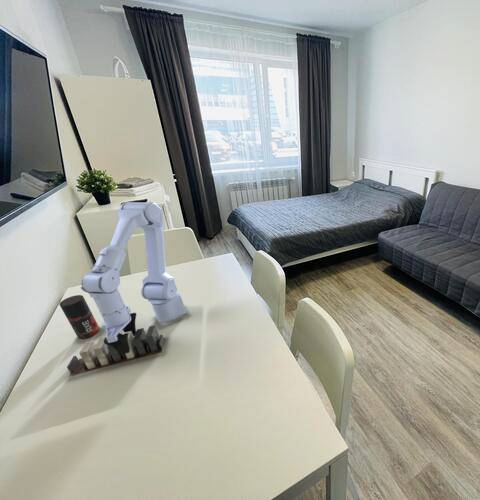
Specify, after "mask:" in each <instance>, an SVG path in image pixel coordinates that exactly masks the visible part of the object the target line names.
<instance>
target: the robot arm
mask: <svg viewBox="0 0 480 500" xmlns="http://www.w3.org/2000/svg"><path fill="white" fill-rule="evenodd" d="M117 216H118V219H119V220H118V223H117V225H116V228H115V230H114V233H113V236H112V239H111V242H110V243H109V245H108V246H104V247H103V248H102V249H101V250H100V251H99V255H98V257H97V259H96V260H95V261H96V262H95V263H94V265H93V267H92V269H91V271H90V272H88V273H87V274H85V275H84V276H83V278H82V279H81V286H80V289H81V290H82V292H84V293H87V294H88V295H89V297H90V298H92V299H93V301H94V303H95V305H96V307H97V310H98V312H99V313H100V315H101V317H102V320H103V321H104V322H102V324H101V328H102V329H105V331H106V336H104V337H105V339H104V343H105V344H106V345H109V346H111V347H113V348H114V349H116V350H117V351H118V352H119V353H120V354H126V353H129V352H130V348H129V344H128V334H129V333H126V334H124V333H125V332H129V331H132V334H133V336H135V333H136V331H137V327H136V319H137V313H136V312H131V311H132V310H131V308H130V306H126V304H125V302H124V300H123V298H122V295H121V292H120V290H119V286H120V284H121V277H120V276H121V271H120V270H121V269H122V266H123V264H124V262H125V259H126V257H127V252H126V251H125V248H126V246H127V244H128V243H129V241H130V240H131V237H132V236H133V234H134V233H135V231H136V230H137V228H140V229H142V230H143V231H144V242H145V254H146V263H147V275H146V276H145V277H144V278H143V279H142V286H141V290H140V293H141V297H142V298H143V299H144V300H148V302H149V303H150V304H151V307H152V310H153V312H154V314H155V317H156V320H157V322H158V323H160V324H161V323H163V324H165V323H169V322H172V321H174V320H176V319H177V318H180V317H181V316H184V315H186V314H187V311H186V306H185V304H184V302H183V299H182V296H181V294H180V293H179V292H178V287H177V284H176V282H175V277H173V276H172V275H170V274H169V273H168V272H167V264H166V253H165V252H166V250H165V239H164V238H165V237H164V227H163V225H164V222H163V209H162V208H161V206H159V204H158V203H156V202H154V201H145V202H144V201H143V202H139V201H138V202H137V201H136V202H134V201H133V202H132V201H131V202H130V201H125V202H123V203H122V204H121V205H120V206H119V210H118V211H117ZM122 331H123V333H121V332H122Z"/></svg>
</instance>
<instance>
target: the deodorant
mask: <svg viewBox="0 0 480 500" xmlns="http://www.w3.org/2000/svg"><path fill="white" fill-rule="evenodd" d="M59 307H60V309H61V311H62V312H63V314H64V316H65V317H66V319H67V321H68V323H69V324H70V326H71V328H72V329H73V332H74V333H75V335H76V337H77V338H78V340H81V341H82V340H88V339H91V338H93V337H94V336H96V335H97V334H99V333H100V331H101V328H100V327H99V324H98V322H97V321H96V319H95V317H94V315H93V313H92V311H91V309H90V307H89V304H88V303H87V300H86V299H85V297H84V296H83V295H82V294H77V295H72V296H69V297H66V298H64V299H63V300H61V301H60V302H59Z"/></svg>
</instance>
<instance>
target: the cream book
mask: <svg viewBox="0 0 480 500" xmlns="http://www.w3.org/2000/svg"><path fill="white" fill-rule="evenodd" d="M126 333H129V334H128V344H129V348H130V352H129V353H126V357H127V359H129V358H133V357H134V356H135V352H134V348H135V344H134V341H133V339H134V336H133V334H132V331H129V332H125V333H124V332H123V334H126Z"/></svg>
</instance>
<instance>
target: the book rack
mask: <svg viewBox="0 0 480 500" xmlns="http://www.w3.org/2000/svg"><path fill="white" fill-rule="evenodd" d="M105 337H106V336H104V337H99V338H98V340H97V341H96V342H95V340H94V339H90V340H87V341H85V343H84V345H83V346H82V347H81V349H80V351H79V356H80V358H78V357H77V355H73V357H71V360H70V361H69V363H68V365H66V369H67V370H68V372H69V373H70V374H69V375H68V377H69V378H70V377H73V376H77V375H81V374H85V373H88V372H92V371H96V370H101V369H104V368H108V367H111V366H115V365H119V364H122V363H123V364H124V363H126V362H130V361H134V360H138V359H141V358H145V357H149V356H153V355H157V354H160V353H163V348H164V344H165V340H166V337H164V335H163V334H159V331H158V329H157V326H156V325H155V324H154V325H151V326H148V328H147V331H145V329H144V327H142V328H138V329H137V328H136V333H135V336H134V339H133V341H134V344H135V348H134V352H135V356H134V357H133V358H129V359H127V357H126V354H120V353H119V352H118V351H117V350H116V349H114V348H113V347H111V346H109V345H106V344H105V343H104V339H105Z"/></svg>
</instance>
